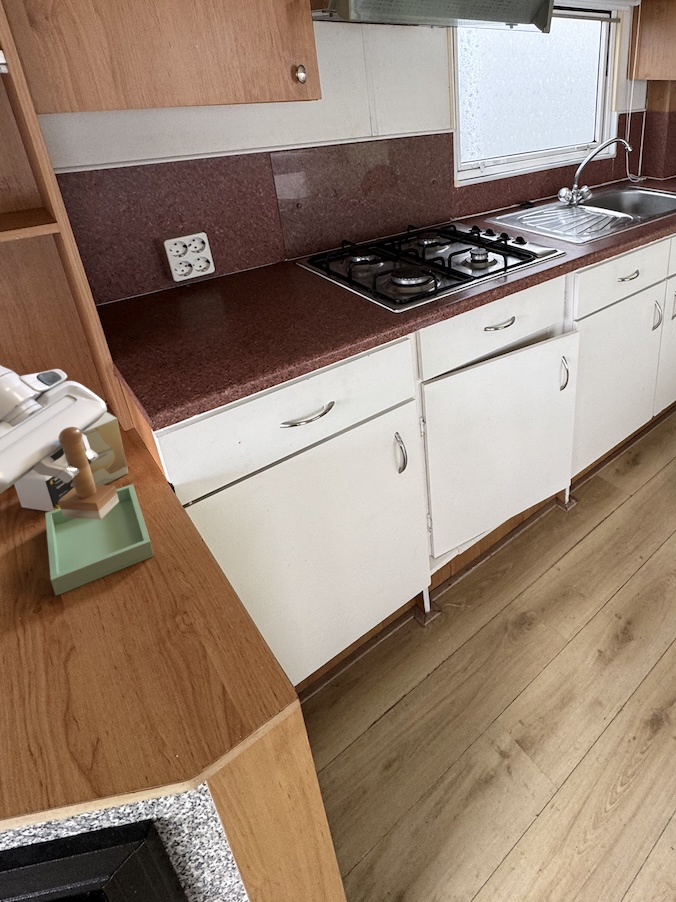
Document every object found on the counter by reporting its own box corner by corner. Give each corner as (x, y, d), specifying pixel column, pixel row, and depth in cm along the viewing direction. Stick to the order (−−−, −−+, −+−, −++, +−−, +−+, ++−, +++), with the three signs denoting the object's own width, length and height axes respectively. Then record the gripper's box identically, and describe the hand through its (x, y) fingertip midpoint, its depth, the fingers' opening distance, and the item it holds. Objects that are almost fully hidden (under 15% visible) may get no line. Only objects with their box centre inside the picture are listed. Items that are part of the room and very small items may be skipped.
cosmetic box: (94, 490, 106) (79, 433, 102) (82, 482, 108) (67, 425, 104) (131, 472, 111) (118, 417, 107) (119, 464, 113) (105, 410, 109)
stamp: (62, 517, 86) (37, 435, 81) (82, 499, 90) (59, 419, 85) (100, 519, 86) (77, 437, 81) (119, 501, 90) (98, 421, 85)
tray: (153, 556, 91) (150, 541, 90) (55, 596, 84) (50, 580, 83) (136, 497, 104) (132, 483, 103) (49, 527, 97) (45, 513, 96)
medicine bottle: (55, 513, 100) (38, 455, 96) (20, 508, 101) (1, 449, 97) (90, 487, 107) (75, 431, 103) (56, 482, 108) (40, 427, 104)
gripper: (-59, 437, 72) (36, 506, 75) (68, 363, 91) (139, 420, 94) (-80, 465, 74) (13, 531, 77) (48, 387, 93) (119, 442, 96)
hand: (83, 469), depth 86 cm, fingers closed on stamp, 2 cm apart
